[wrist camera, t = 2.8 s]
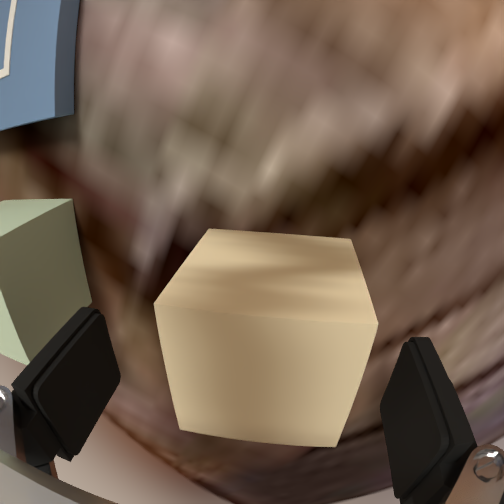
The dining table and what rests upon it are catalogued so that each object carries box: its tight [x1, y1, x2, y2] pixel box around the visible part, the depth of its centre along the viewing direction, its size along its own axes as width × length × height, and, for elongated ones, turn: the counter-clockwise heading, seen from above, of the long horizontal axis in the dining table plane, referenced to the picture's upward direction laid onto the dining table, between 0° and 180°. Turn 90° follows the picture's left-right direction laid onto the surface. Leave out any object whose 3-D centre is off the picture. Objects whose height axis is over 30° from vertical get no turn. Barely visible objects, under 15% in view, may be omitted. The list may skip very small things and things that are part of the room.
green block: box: [0, 199, 92, 365], centre depth 11 cm, size 5×5×5 cm
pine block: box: [154, 229, 378, 447], centre depth 10 cm, size 5×5×5 cm
